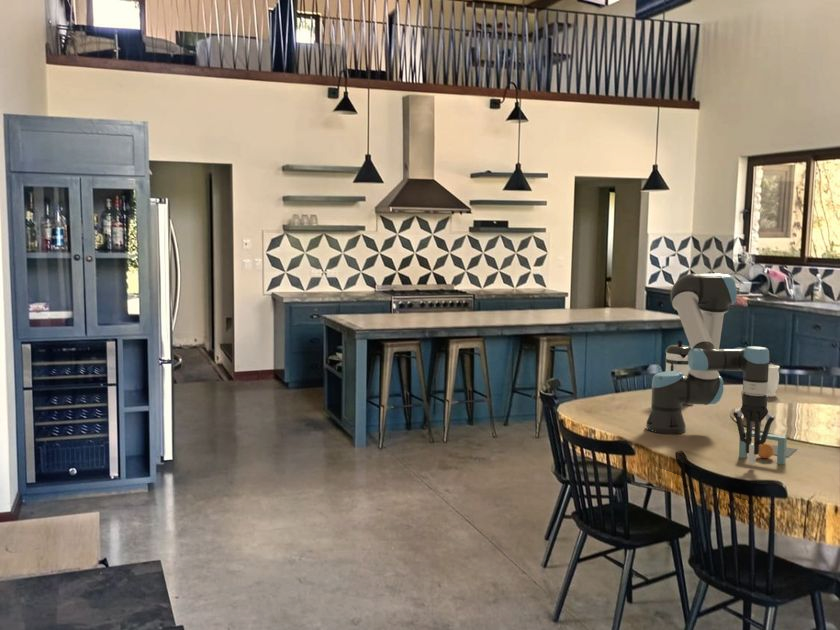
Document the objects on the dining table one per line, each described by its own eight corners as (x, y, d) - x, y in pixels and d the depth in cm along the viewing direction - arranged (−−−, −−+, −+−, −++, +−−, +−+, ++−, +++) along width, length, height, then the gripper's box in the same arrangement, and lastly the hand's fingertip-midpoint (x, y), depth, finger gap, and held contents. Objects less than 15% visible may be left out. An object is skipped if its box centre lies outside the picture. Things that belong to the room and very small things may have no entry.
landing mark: (749, 451, 277) (749, 450, 277) (759, 443, 287) (759, 443, 287) (788, 457, 269) (788, 456, 269) (796, 449, 279) (796, 449, 279)
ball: (753, 456, 267) (755, 441, 267) (757, 456, 271) (759, 441, 272) (770, 459, 264) (772, 443, 264) (774, 459, 268) (776, 443, 268)
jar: (782, 397, 373) (783, 367, 372) (760, 397, 373) (762, 367, 372) (772, 393, 384) (773, 363, 382) (751, 393, 384) (752, 363, 382)
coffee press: (702, 403, 358) (705, 340, 355) (681, 407, 349) (684, 342, 346) (671, 397, 372) (673, 336, 370) (650, 401, 363) (652, 338, 360)
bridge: (738, 457, 269) (739, 431, 268) (741, 455, 271) (742, 430, 270) (783, 464, 260) (784, 438, 259) (785, 462, 262) (786, 436, 261)
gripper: (731, 392, 254) (728, 462, 256) (773, 397, 246) (769, 469, 248) (737, 389, 260) (734, 457, 262) (778, 394, 252) (775, 464, 254)
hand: (751, 463), depth 255 cm, fingers closed
